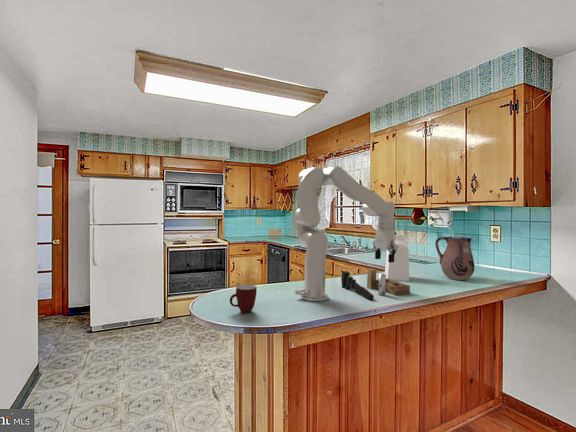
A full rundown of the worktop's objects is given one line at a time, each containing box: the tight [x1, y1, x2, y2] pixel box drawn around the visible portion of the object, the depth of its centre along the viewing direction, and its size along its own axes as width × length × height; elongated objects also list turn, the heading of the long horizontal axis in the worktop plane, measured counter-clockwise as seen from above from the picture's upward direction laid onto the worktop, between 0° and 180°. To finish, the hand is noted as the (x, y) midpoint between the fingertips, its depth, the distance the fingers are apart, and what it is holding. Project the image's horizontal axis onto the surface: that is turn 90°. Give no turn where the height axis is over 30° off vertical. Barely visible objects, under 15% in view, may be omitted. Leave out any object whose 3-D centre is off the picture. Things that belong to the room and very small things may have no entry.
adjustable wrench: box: [340, 270, 375, 301], centre depth 157 cm, size 8×3×25 cm
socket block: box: [376, 278, 411, 296], centre depth 162 cm, size 16×9×4 cm, turn 23°
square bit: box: [366, 268, 377, 290], centre depth 166 cm, size 3×3×10 cm
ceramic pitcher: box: [435, 236, 475, 281], centre depth 192 cm, size 18×21×25 cm
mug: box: [229, 284, 258, 314], centre depth 126 cm, size 11×8×10 cm
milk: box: [384, 234, 410, 282], centre depth 190 cm, size 12×12×26 cm
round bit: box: [378, 273, 387, 297], centre depth 154 cm, size 3×3×10 cm
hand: (384, 260), depth 159 cm, fingers open, 9 cm apart
